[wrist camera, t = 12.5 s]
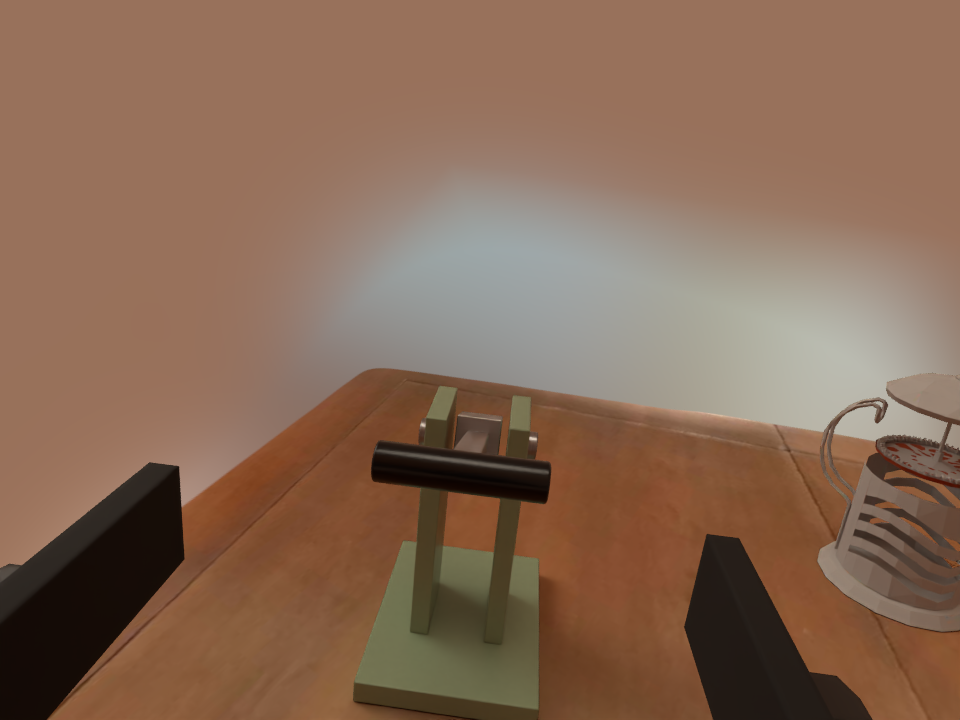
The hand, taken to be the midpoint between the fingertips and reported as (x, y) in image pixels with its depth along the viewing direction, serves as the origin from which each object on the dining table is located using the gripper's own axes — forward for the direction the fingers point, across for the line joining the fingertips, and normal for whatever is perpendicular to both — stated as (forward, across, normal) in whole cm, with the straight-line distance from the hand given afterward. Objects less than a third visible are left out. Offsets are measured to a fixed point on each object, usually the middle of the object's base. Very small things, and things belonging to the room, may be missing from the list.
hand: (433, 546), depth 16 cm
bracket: (+16, 0, -17) cm, 24 cm away
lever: (+11, 0, -4) cm, 12 cm away
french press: (+28, +29, -17) cm, 44 cm away
